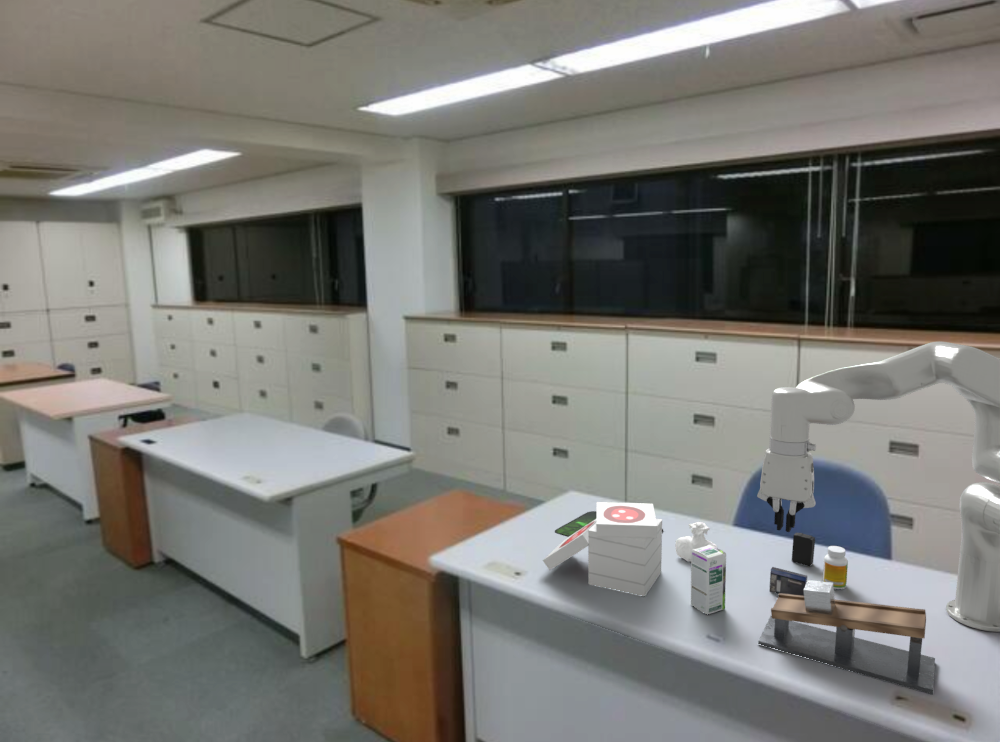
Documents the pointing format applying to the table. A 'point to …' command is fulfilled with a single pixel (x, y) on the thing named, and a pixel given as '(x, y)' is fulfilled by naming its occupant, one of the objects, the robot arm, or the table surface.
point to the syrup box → (708, 579)
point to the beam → (855, 616)
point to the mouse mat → (577, 524)
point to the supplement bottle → (835, 567)
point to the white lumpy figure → (693, 541)
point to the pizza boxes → (618, 547)
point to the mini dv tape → (787, 582)
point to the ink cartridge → (803, 549)
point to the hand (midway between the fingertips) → (784, 528)
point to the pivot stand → (853, 653)
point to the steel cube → (819, 597)
